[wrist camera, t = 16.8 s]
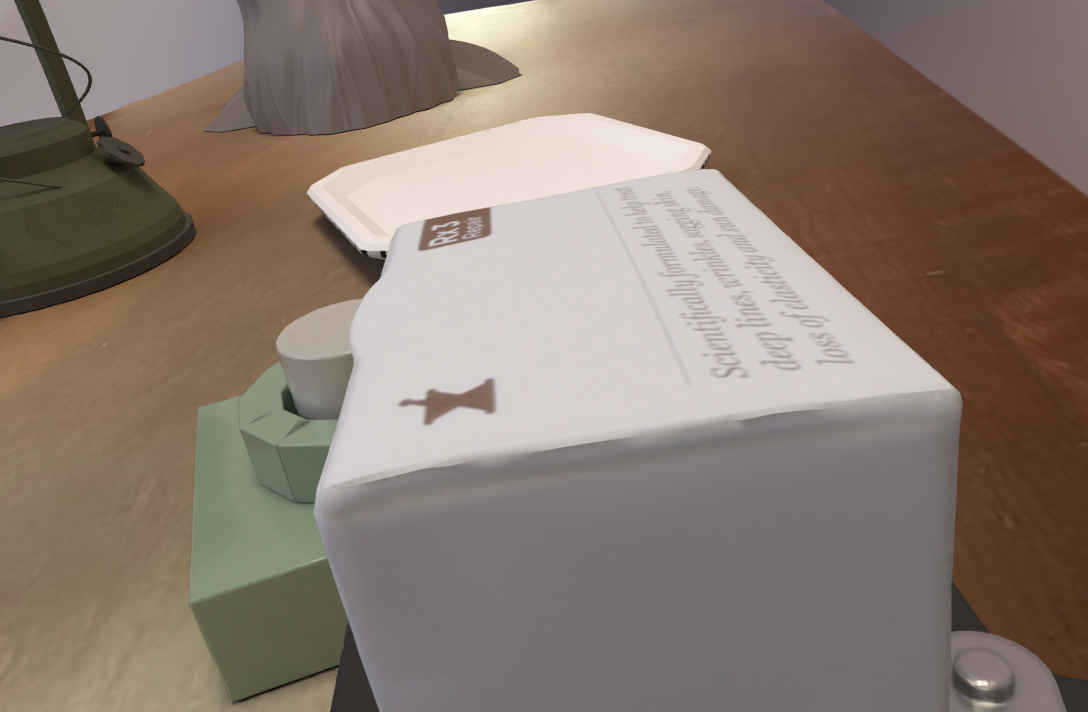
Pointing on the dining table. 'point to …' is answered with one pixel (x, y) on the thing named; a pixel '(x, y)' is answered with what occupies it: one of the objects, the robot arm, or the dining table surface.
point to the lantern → (75, 198)
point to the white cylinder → (318, 359)
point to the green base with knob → (262, 541)
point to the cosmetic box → (637, 468)
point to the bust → (349, 65)
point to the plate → (494, 172)
